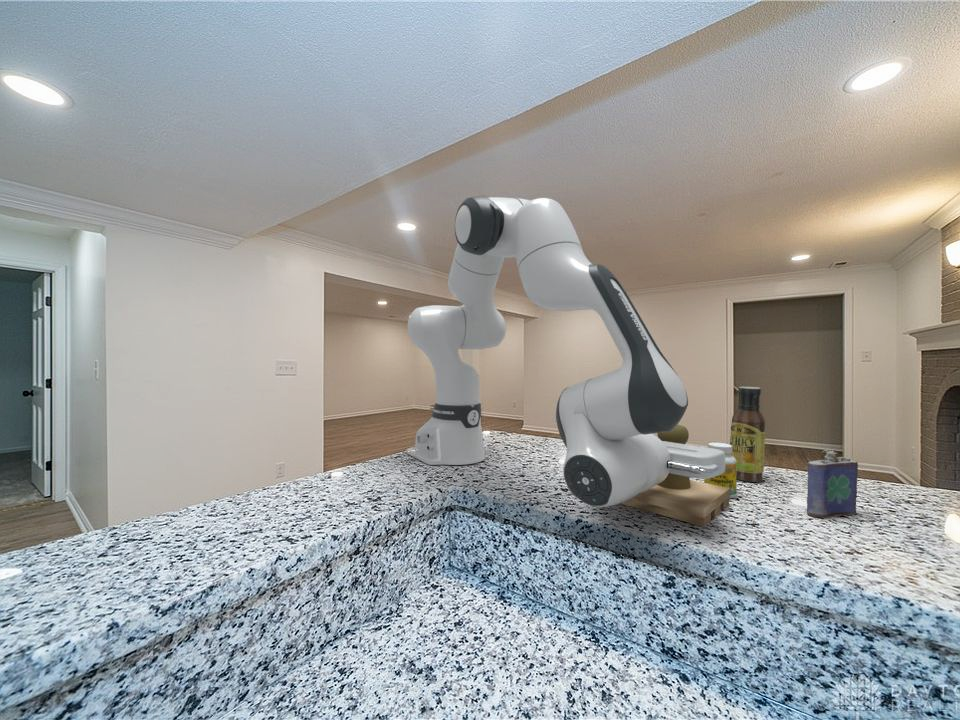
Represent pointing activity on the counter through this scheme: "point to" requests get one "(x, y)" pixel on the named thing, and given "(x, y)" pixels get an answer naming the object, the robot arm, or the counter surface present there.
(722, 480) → the supplement bottle
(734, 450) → the sauce bottle
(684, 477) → the cork
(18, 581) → the counter surface
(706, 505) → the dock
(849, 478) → the flask
